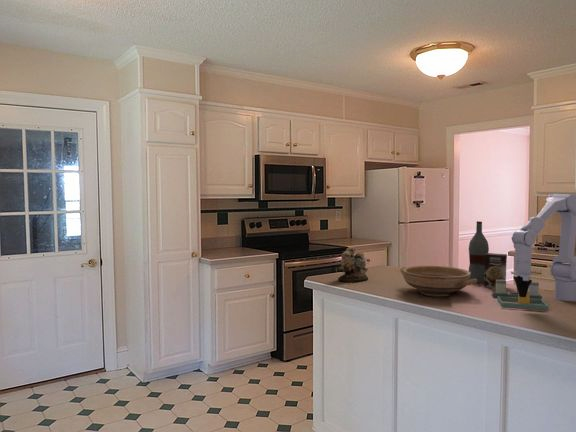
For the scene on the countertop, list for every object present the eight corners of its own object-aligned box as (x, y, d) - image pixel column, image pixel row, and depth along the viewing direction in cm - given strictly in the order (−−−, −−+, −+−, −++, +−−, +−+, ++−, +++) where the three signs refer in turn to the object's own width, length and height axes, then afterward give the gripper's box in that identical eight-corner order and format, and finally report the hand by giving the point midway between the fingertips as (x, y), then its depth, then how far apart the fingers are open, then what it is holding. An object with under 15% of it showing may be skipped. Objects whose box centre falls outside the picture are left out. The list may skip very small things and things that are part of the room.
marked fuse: (528, 305, 179) (528, 287, 179) (529, 306, 177) (529, 288, 177) (517, 304, 181) (518, 286, 180) (518, 306, 178) (519, 288, 178)
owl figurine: (347, 284, 223) (347, 249, 222) (331, 280, 233) (331, 247, 232) (373, 279, 234) (373, 246, 233) (357, 276, 243) (357, 244, 242)
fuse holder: (539, 300, 191) (539, 293, 190) (543, 303, 184) (543, 296, 184) (491, 297, 196) (491, 290, 196) (493, 300, 190) (493, 293, 189)
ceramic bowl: (493, 296, 197) (493, 273, 197) (455, 306, 180) (455, 281, 179) (420, 282, 227) (421, 262, 226) (382, 290, 209) (382, 268, 209)
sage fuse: (504, 296, 192) (505, 280, 192) (505, 297, 190) (506, 281, 190) (495, 296, 193) (495, 279, 193) (496, 297, 191) (496, 280, 191)
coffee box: (483, 289, 212) (484, 254, 211) (484, 286, 218) (485, 252, 217) (505, 291, 208) (506, 255, 207) (506, 288, 213) (507, 253, 212)
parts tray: (541, 305, 182) (541, 298, 182) (548, 312, 171) (548, 305, 171) (497, 302, 187) (497, 296, 187) (501, 309, 176) (501, 302, 176)
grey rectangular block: (536, 298, 189) (537, 281, 188) (538, 299, 187) (538, 282, 186) (527, 298, 190) (527, 281, 190) (528, 299, 188) (528, 282, 187)
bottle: (481, 284, 221) (482, 222, 220) (464, 281, 229) (465, 221, 227) (491, 282, 227) (493, 221, 225) (474, 279, 234) (476, 220, 233)
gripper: (508, 258, 186) (507, 291, 187) (514, 263, 172) (513, 299, 173) (527, 258, 184) (526, 292, 185) (535, 264, 170) (534, 300, 171)
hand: (521, 295), depth 179 cm, fingers closed on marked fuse, 2 cm apart
